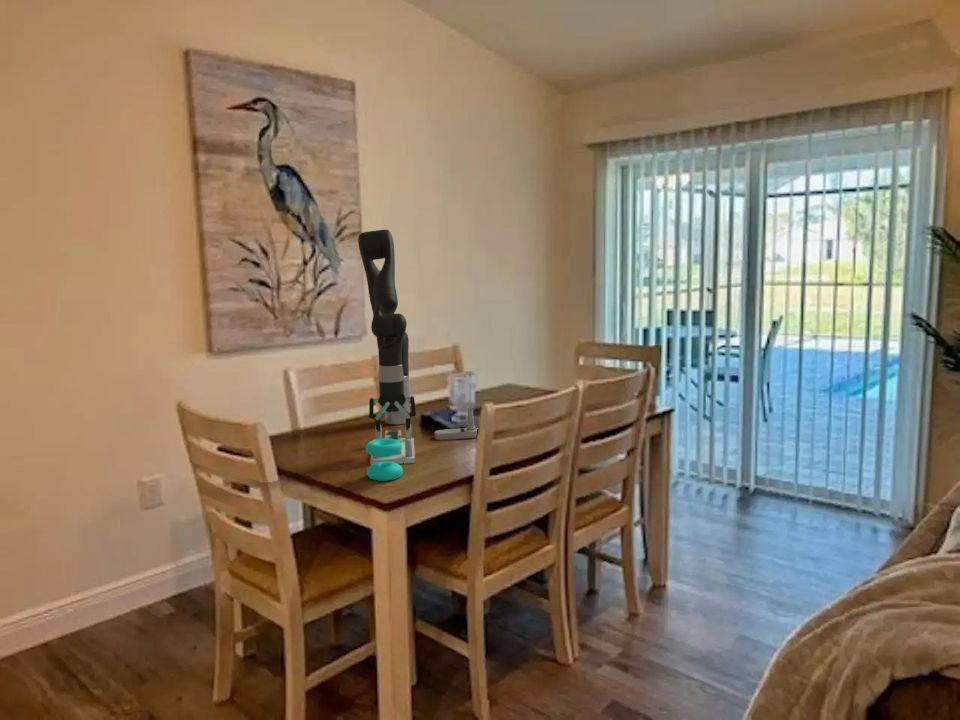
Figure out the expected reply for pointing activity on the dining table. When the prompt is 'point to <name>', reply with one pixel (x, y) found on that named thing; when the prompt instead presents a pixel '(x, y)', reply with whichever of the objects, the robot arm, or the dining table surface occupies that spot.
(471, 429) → the electronic device
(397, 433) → the pale green block
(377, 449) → the donuts
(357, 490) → the dining table surface
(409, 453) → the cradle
